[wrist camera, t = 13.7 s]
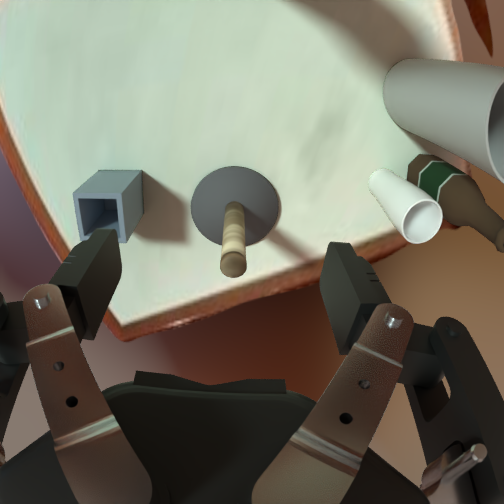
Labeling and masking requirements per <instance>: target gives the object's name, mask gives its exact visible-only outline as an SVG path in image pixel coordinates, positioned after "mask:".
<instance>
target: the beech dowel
mask: <svg viewBox="0 0 504 504" xmlns="http://www.w3.org/2000/svg"><path fill="white" fill-rule="evenodd" d="M246 268H247V263H246V249H245V224H244V207H243V205H242V204H241V203H239V202H237V201H232V202H230V203H228V204H227V205H226V207H225V217H224V229H223V241H222V254H221V261H220V269H221V271H222V273H223V274H224V275H226V276H228V277H231V278H236V277H239V276H241V275H243V274H244V273H245V271H246Z"/></svg>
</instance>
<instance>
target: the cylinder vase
mask: <svg viewBox="0 0 504 504" xmlns="http://www.w3.org/2000/svg"><path fill="white" fill-rule="evenodd" d="M383 99H384V104H385V107H386V109H387V112H388V113H389V115H390V117H391V118H392V119H393V121H394V122H395V123H396V124H397V125H399V126H400V127H401V128H403V129H405V130H407V131H409V132H411V133H414V134H416V135H418V136H420V137H422V138H424V139H426V140H428V141H430V142H432V143H434V144H436V145H438V146H440V147H442V148H444V149H446V150H448V151H449V152H451V153H453V154H455V155H457V156H459V157H461V158H462V159H464V160H466V161H468V162H469V163H471V164H473V165H475V166H476V167H478V168H480V169H481V170H483V171H485V172H486V173H488V174H490V175H491V176H493V177H495V178H496V179H498V180H499V181H501V182H502V183H504V67H499V66H492V65H485V64H478V63H468V62H460V61H448V60H433V59H406V60H403V61H400V62H399V63H397V64H396V65H394V66H393V67H392V68H391V70H390V71H389V72H388V74H387V76H386V78H385V81H384V86H383Z"/></svg>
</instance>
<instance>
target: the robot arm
mask: <svg viewBox="0 0 504 504" xmlns="http://www.w3.org/2000/svg"><path fill="white" fill-rule="evenodd" d="M121 273H122V262H121V256H120V249H119V242H118V235H117V231H116V230H115V229H106V228H96V229H95V230H94V232H93V233H92V235H91V236H90V237H89V239H88V240H83V241H82V242H81V243H79V244H78V245H76V246H75V247H74V248H73V249H72V250H71V252H70V253H69V255H68V257H66V259H65V260H64V262H63V263H62V264H61V266H60V267H59V269H58V270H57V272H56V273H55V274H54V276H53V277H52V279H51V280H50V282H49V283H48V284H43V285H39V286H36V287H34V288H32V289H31V290H30V291H28V293H26V295H25V297H24V299H23V301H17V302H10V303H6V302H5V299H4V297H3V295H2V294H1V292H0V504H504V401H503V398H502V396H501V394H500V392H499V390H498V388H497V386H496V384H495V382H494V379H493V377H492V375H491V373H490V371H489V369H488V367H487V365H486V363H485V361H484V360H483V357H482V356H481V354H480V352H479V350H478V348H477V346H476V344H475V343H474V341H473V339H472V337H471V335H470V334H469V332H468V330H467V329H466V327H465V326H464V325H463V324H462V323H461V322H459V321H458V320H456V319H454V318H451V317H440V318H439V319H438V320H437V321H436V323H435V325H434V326H433V327H430V326H425V325H421V324H417V323H414V320H413V317H412V316H411V314H410V313H409V312H408V311H407V310H405V309H404V308H403V307H401V306H398V305H396V304H392V302H391V300H390V299H389V297H388V295H387V293H386V291H385V289H384V287H383V286H382V284H381V282H379V278H378V277H377V275H375V274H376V273H375V271H374V269H373V268H372V266H371V264H370V263H368V262H367V261H366V260H365V259H364V258H363V257H361V256H357V255H356V253H355V251H354V249H353V248H352V246H351V244H350V243H342V242H330V243H329V245H328V248H327V252H326V256H325V260H324V264H323V268H322V272H321V276H320V290H321V294H322V297H323V301H324V304H325V307H326V310H327V313H328V317H329V320H330V323H331V326H332V330H333V333H334V336H335V340H336V343H337V347H338V350H339V353H340V355H347V357H346V358H345V360H344V362H343V363H342V365H341V366H340V368H339V370H338V371H337V373H336V374H335V376H334V378H333V379H332V381H331V383H330V384H329V385H328V387H327V389H326V390H325V392H324V393H323V395H322V396H321V398H320V399H319V401H318V402H315V401H314V400H312V399H310V398H308V397H306V396H304V395H302V394H299V393H296V392H293V391H289V390H286V384H285V379H246V380H240V381H235V382H229V383H223V384H217V385H205V384H201V383H198V382H194V381H191V380H188V379H184V378H181V377H178V376H175V375H171V374H161V373H152V372H143V371H136V374H135V378H134V381H130V382H125V383H121V384H117V385H114V386H112V387H109V388H107V389H105V390H103V391H102V392H101V390H100V388H99V386H98V384H97V382H96V380H95V377H94V375H93V373H92V371H91V369H90V367H89V364H88V362H87V360H86V357H85V355H84V353H83V350H82V348H81V345H80V343H81V341H82V339H87V340H94V339H95V336H96V333H97V331H98V328H99V326H100V324H101V322H102V319H103V317H104V315H105V312H106V310H107V308H108V305H109V303H110V301H111V298H112V296H113V294H114V292H115V290H116V287H117V285H118V283H119V281H120V278H121ZM29 364H31V369H32V373H33V377H34V380H35V384H36V388H37V391H38V394H39V398H40V401H41V405H42V408H43V411H44V414H45V417H46V419H47V423H48V426H49V428H50V430H49V431H48V432H47V433H45V434H44V435H43V436H41V437H40V438H38V439H37V440H36V441H34V442H33V443H32V444H30V445H29V446H28V447H26V448H25V449H24V450H22V451H21V452H19V453H18V454H17V455H15V456H14V457H13V458H11V459H10V460H9V461H7V462H6V461H5V451H4V448H3V445H2V442H3V438H4V435H5V431H6V428H7V425H8V422H9V418H10V415H11V412H12V409H13V406H14V403H15V401H16V398H17V395H18V392H19V390H20V387H21V384H22V381H23V379H24V376H25V374H26V371H27V369H28V366H29ZM444 376H445V377H446V379H447V382H448V384H449V387H450V390H451V395H450V399H449V397H448V394H447V392H446V389H445V387H444V384H443V381H442V379H443V377H444ZM396 383H402V384H404V387H405V390H406V393H407V396H408V399H409V402H410V406H411V409H412V412H413V416H414V419H415V423H416V426H417V429H418V433H419V437H420V440H421V444H422V448H423V452H424V456H425V460H426V464H427V467H426V468H425V470H424V471H423V474H422V480H421V481H422V484H421V485H420V488H418V487H417V486H416V485H415V484H414V483H412V482H411V481H410V480H408V479H407V478H406V477H405V476H403V475H402V474H401V473H400V472H398V471H397V470H396V469H395V468H394V467H392V466H391V465H390V464H389V463H387V462H386V461H385V460H384V459H382V458H381V457H380V456H379V455H378V454H376V453H375V452H374V451H373V450H372V449H371V448H369V447H368V446H369V444H370V442H371V440H372V437H373V436H374V434H375V432H376V430H377V427H378V426H379V423H380V421H381V419H382V417H383V414H384V412H385V410H386V408H387V405H388V403H389V401H390V398H391V396H392V393H393V391H394V389H395V386H396Z"/></svg>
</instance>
